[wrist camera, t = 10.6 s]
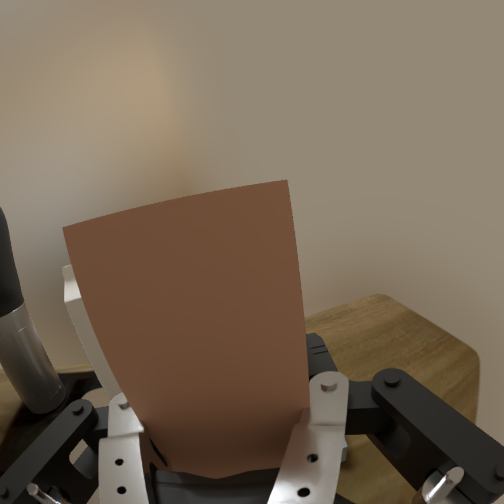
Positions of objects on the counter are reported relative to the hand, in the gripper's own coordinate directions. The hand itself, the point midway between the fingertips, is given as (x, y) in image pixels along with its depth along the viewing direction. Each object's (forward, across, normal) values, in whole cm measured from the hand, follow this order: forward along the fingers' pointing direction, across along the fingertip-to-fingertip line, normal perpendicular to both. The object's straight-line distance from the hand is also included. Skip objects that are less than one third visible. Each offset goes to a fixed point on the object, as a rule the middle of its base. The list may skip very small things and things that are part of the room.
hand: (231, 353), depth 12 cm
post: (-3, 0, +9) cm, 9 cm away
